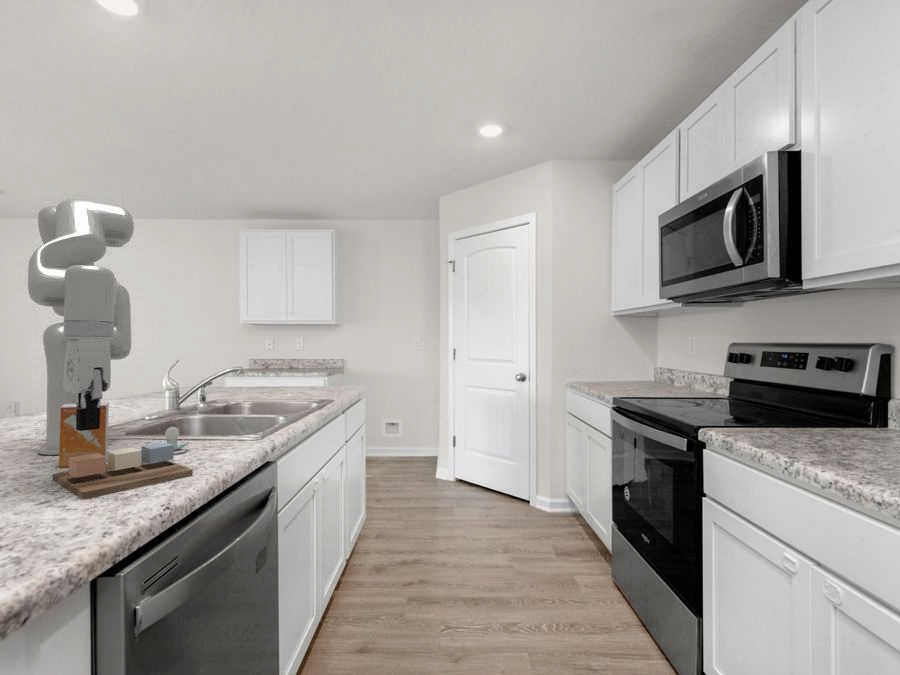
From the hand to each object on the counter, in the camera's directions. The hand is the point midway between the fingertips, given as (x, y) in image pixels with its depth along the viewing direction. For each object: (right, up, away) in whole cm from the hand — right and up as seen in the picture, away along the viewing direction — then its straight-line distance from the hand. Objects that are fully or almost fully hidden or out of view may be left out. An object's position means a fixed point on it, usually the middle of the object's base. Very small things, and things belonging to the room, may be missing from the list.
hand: (88, 429), depth 86 cm
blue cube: (+7, -8, +10) cm, 15 cm away
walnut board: (+3, -11, +5) cm, 12 cm away
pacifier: (0, -11, +25) cm, 28 cm away
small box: (-14, -11, +16) cm, 24 cm away
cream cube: (+3, -8, +5) cm, 10 cm away
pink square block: (0, -8, 0) cm, 8 cm away
